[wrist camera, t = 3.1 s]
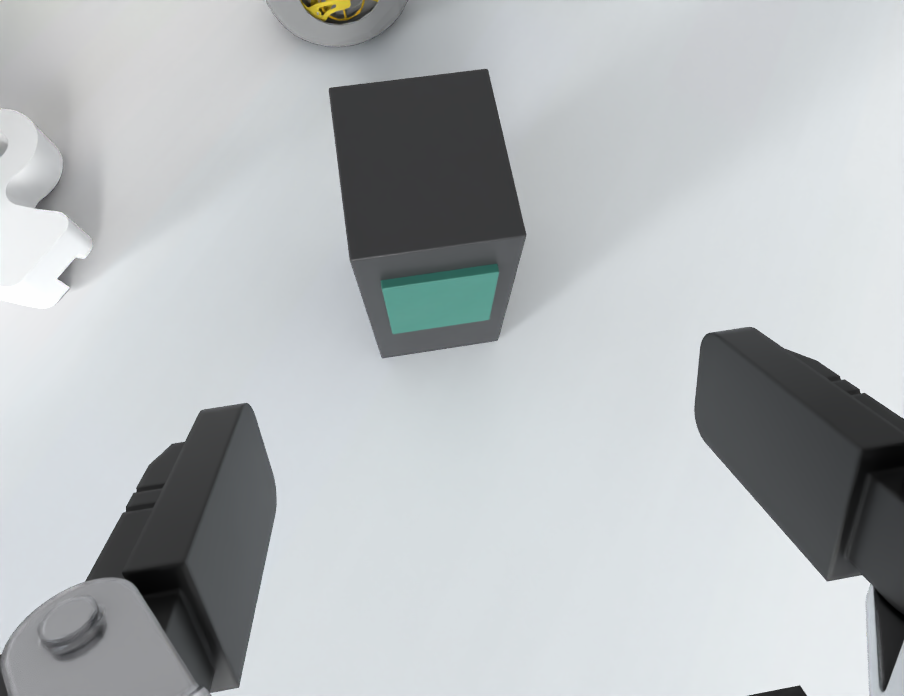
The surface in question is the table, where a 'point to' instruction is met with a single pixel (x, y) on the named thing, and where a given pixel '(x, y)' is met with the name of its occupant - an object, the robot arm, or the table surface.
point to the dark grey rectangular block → (428, 208)
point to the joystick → (32, 217)
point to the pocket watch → (336, 19)
